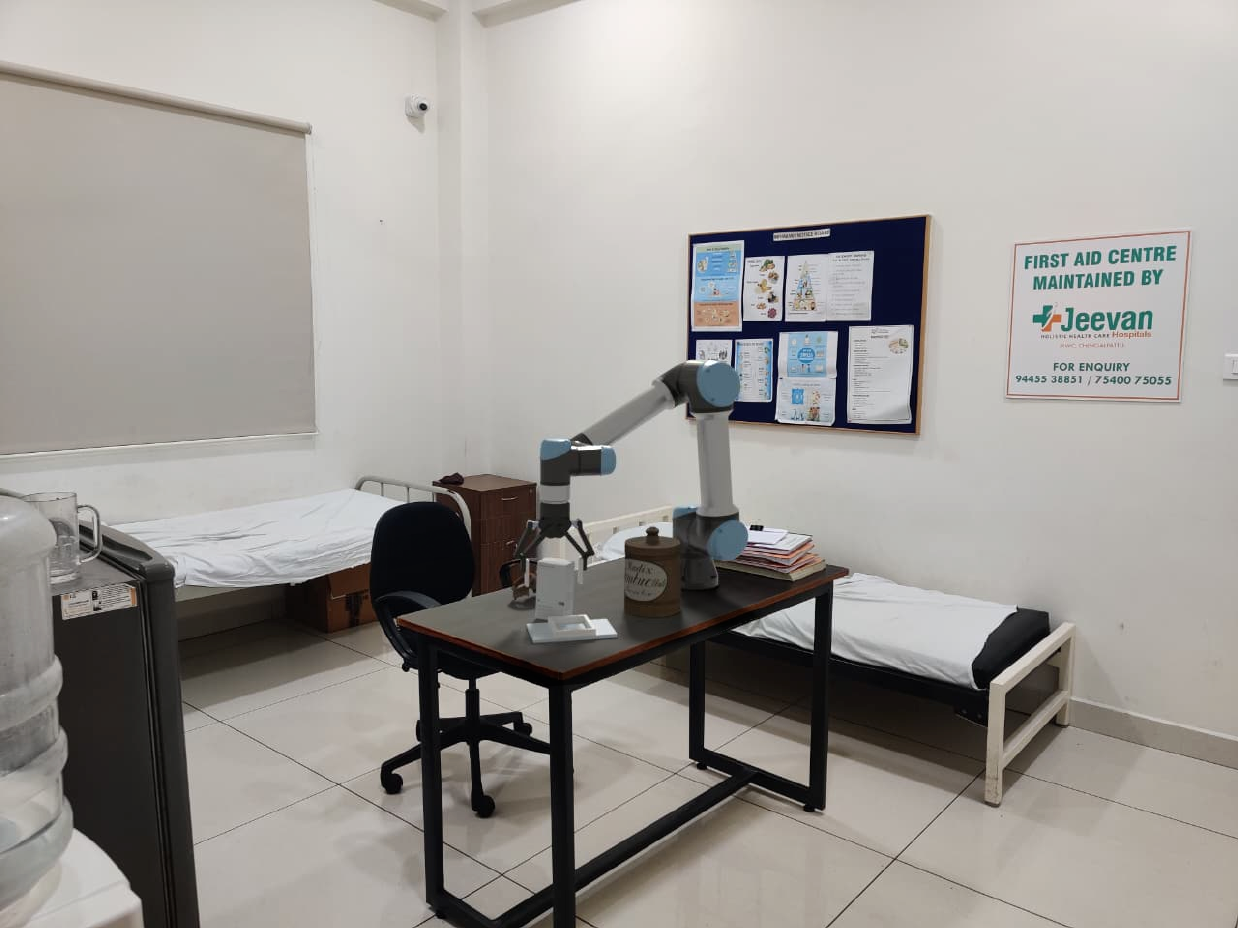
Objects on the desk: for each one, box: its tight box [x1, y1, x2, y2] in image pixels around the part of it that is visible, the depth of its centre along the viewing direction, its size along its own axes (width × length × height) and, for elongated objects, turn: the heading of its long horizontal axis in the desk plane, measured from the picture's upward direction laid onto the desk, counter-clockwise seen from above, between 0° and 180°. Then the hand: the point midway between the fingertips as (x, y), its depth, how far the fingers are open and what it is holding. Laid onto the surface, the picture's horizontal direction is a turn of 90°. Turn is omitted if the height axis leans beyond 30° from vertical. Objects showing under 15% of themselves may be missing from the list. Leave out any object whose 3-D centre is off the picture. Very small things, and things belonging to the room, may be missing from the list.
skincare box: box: [534, 557, 576, 621], centre depth 224 cm, size 8×6×15 cm
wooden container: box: [623, 525, 682, 618], centre depth 231 cm, size 15×15×22 cm
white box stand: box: [526, 614, 618, 644], centre depth 213 cm, size 20×12×2 cm, turn 103°
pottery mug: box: [510, 572, 537, 600], centre depth 241 cm, size 12×10×8 cm
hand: (553, 584), depth 223 cm, fingers open, 13 cm apart
